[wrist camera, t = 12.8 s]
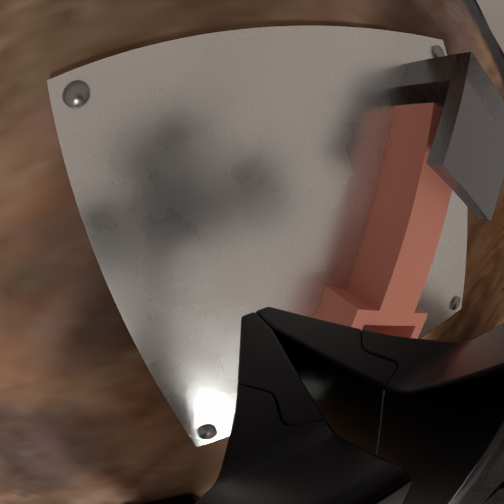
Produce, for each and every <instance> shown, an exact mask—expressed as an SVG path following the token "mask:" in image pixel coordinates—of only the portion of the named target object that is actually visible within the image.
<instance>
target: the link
mask: <svg viewBox="0 0 504 504" xmlns="http://www.w3.org/2000/svg"><path fill="white" fill-rule="evenodd" d="M442 111H443V109H441V108H440V107H439V106H438V105H436V104H435V103H420V104H408V105H397V106H395V108H394V113H393V119H392V124H391V129H390V133H389V138H388V143H387V147H386V152H385V156H384V161H383V165H382V169H381V173H380V177H379V181H378V185H377V189H376V193H375V197H374V201H373V204H372V208H371V212H370V215H369V219H368V222H367V226H366V229H365V233H364V236H363V239H362V243H361V246H360V249H359V252H358V256H357V259H356V262H355V265H354V268H353V271H352V274H351V277H350V280H349V283H348V286H347V289H343V288H335V287H327V286H326V287H325V290H324V294H323V296H322V299H321V302H320V305H319V308H318V311H317V314H316V317H315V318H316V319H320V320H324V321H328V322H332V323H337V324H341V325H345V326H349V327H354V328H358V329H361V331H362V329H363V326H364V325H377V326H376V329H375V331H374V332H377V333H382V334H387V335H393V336H400V337H407V338H416V339H418V337H419V334H420V332H421V330H422V327H423V325H424V323H425V320H426V318H427V315H428V313H426V312H424V311H423V310H421V309H419V308H418V307H417V304H418V301H419V299H420V296H421V293H422V291H423V288H424V285H425V282H426V280H427V277H428V274H429V271H430V268H431V265H432V262H433V259H434V255H435V252H436V249H437V246H438V242H439V239H440V235H441V232H442V228H443V225H444V221H445V217H446V213H447V209H448V205H449V201H450V197H451V193H452V189H451V188H450V187H449V186H448V185H447V184H446V183H445V182H444V180H443V179H442V178H441V177H440V176H439V175H438V174H437V173H436V172H435V171H434V170H433V169H432V168H431V167H430V166H429V165H428V164H427V163H426V161H427V159H428V156H429V153H430V150H431V147H432V144H433V141H434V138H435V134H436V131H437V128H438V125H439V121H440V118H441V115H442Z"/></svg>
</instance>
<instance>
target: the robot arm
mask: <svg viewBox="0 0 504 504" xmlns="http://www.w3.org/2000/svg"><path fill="white" fill-rule="evenodd" d="M150 504H504V323H503V324H501V325H499V326H497V327H496V328H494V329H492V330H490V331H488V332H486V333H485V334H483V335H481V336H479V337H477V338H474V339H471V340H468V341H463V342H446V341H435V340H426V339H416V338H407V337H400V336H393V335H387V334H382V333H377V332H372V331H367V330H362V331H361V329H358V328H354V327H349V326H345V325H341V324H337V323H332V322H328V321H324V320H320V319H316V318H312V317H308V316H304V315H300V314H296V313H292V312H288V311H284V310H280V309H276V308H273V307H265V308H263V309H260V310H258V311H256V313H255V312H252V313H250V314H247V315H244V316H242V318H241V331H240V349H239V368H238V387H237V399H236V409H235V415H234V419H233V424H232V429H231V433H230V437H229V440H228V444H227V448H226V452H225V456H224V460H223V464H222V467H221V470H220V473H219V476H218V478H217V480H216V482H215V483H214V485H213V486H212V487H211V489H210V490H209V491H208V492H206V493H205V494H204V495H203V496H202V497H201V498H200V499H199V500H198V499H197V498H196V497H195V496H194V495H185V496H181V497H177V498H173V499H169V500H164V501H160V502H155V503H150Z"/></svg>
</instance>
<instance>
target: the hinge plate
mask: <svg viewBox="0 0 504 504" xmlns="http://www.w3.org/2000/svg"><path fill="white" fill-rule="evenodd" d="M441 56H447V53H446V49H445V46H444V42H443V40H441V39H436V38H431V37H426V36H421V35H415V34H409V33H403V32H396V31H388V30H380V29H370V28H359V27H343V26H276V27H260V28H248V29H239V30H230V31H222V32H215V33H208V34H202V35H196V36H191V37H185V38H180V39H175V40H171V41H166V42H162V43H157V44H153V45H149V46H145V47H141V48H138V49H134V50H130V51H127V52H123V53H120V54H117V55H114V56H110V57H107V58H104V59H101V60H98V61H95V62H92V63H90V64H87V65H84V66H81V67H79V68H76V69H74V70H71V71H68V72H66V73H63V74H61V75H59V76H56V77H54V78H52V79H49V80H47V84H48V90H49V96H50V101H51V106H52V112H53V116H54V121H55V126H56V130H57V134H58V139H59V143H60V147H61V151H62V155H63V158H64V162H65V166H66V169H67V173H68V177H69V180H70V183H71V187H72V190H73V193H74V196H75V200H76V203H77V206H78V209H79V212H80V215H81V218H82V221H83V224H84V226H85V229H86V232H87V235H88V238H89V240H90V243H91V246H92V248H93V251H94V253H95V256H96V259H97V261H98V264H99V266H100V269H101V271H102V273H103V276H104V278H105V281H106V283H107V285H108V288H109V290H110V292H111V294H112V297H113V299H114V301H115V303H116V306H117V308H118V310H119V312H120V314H121V316H122V318H123V321H124V323H125V325H126V327H127V329H128V331H129V333H130V335H131V337H132V339H133V341H134V343H135V345H136V347H137V349H138V351H139V352H140V354H141V356H142V358H143V360H144V362H145V364H146V366H147V367H148V369H149V371H150V373H151V375H152V376H153V378H154V380H155V382H156V383H157V385H158V387H159V389H160V390H161V392H162V394H163V396H164V397H165V399H166V401H167V402H168V404H169V405H170V407H171V409H172V410H173V412H174V414H175V415H176V417H177V418H178V420H179V422H180V423H181V425H182V426H183V428H184V429H185V431H186V432H187V434H188V435H189V437H190V438H191V440H192V441H193V443H194V444H195V446H196V447H198V446H202V445H205V444H208V443H211V442H214V441H216V440H219V439H222V438H225V437H228V436H230V433H231V429H232V424H233V419H234V415H235V409H236V399H237V387H238V368H239V349H240V331H241V318H242V316H244V315H247V314H250V313H252V312H255V313H256V311H258V310H260V309H263V308H265V307H273V308H276V309H280V310H284V311H288V312H292V313H296V314H300V315H304V316H308V317H312V318H315V317H316V314H317V311H318V308H319V305H320V302H321V299H322V296H323V294H324V290H325V287H326V286H327V287H335V288H343V289H347V286H348V283H349V280H350V277H351V274H352V271H353V268H354V265H355V262H356V259H357V256H358V252H359V249H360V246H361V243H362V239H363V236H364V233H365V229H366V226H367V222H368V219H369V215H370V212H371V208H372V204H373V201H374V197H375V193H376V189H377V185H378V181H379V177H380V173H381V169H382V165H383V161H384V156H385V152H386V147H387V143H388V138H389V133H390V129H391V124H392V119H393V113H394V108H395V106H397V105H408V104H415V103H414V102H413V101H412V100H411V99H410V98H409V97H408V96H407V95H406V94H405V93H404V92H403V91H402V90H401V89H400V88H399V87H398V86H399V83H400V80H401V78H402V75H403V72H404V69H405V66H406V63H411V62H415V61H420V60H425V59H430V58H436V57H441ZM466 252H467V206H466V204H465V203H464V202H463V201H462V200H461V199H460V198H459V197H458V196H457V194H456V193H455V192H454V191H453V190H452V193H451V197H450V201H449V205H448V209H447V213H446V217H445V221H444V225H443V228H442V232H441V235H440V239H439V242H438V246H437V249H436V252H435V255H434V259H433V262H432V265H431V268H430V271H429V274H428V277H427V280H426V282H425V285H424V288H423V291H422V293H421V296H420V299H419V301H418V304H417V307H418V308H419V309H421V310H423V311H424V312H426V313H428V315H427V318H426V320H425V323H424V325H423V327H422V330H421V332H420V334H419V337H418V339H420V338H421V337H423V336H424V335H426V334H427V333H429V332H430V331H432V330H433V329H434V328H436V327H437V326H439V325H440V324H441V323H443V322H444V321H446V320H447V319H448V318H450V317H451V316H452V315H454V314H455V313H456V312H458V311H459V310H460V309H461V307H462V299H463V290H464V280H465V268H466ZM376 326H377V325H364V326H363V329H362V330H367V331H372V332H374V331H375V329H376Z"/></svg>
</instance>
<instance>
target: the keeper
mask: <svg viewBox="0 0 504 504" xmlns="http://www.w3.org/2000/svg"><path fill="white" fill-rule="evenodd" d="M398 87H399V88H400V89H401V90H402V91H403V92H404V93H405V94H406V95H407V96H408V97H409V98H410V99H411V100H412V101H413V102H414V103H415V104H420V103H435V104H436V105H438V106H439V107H440V108H441V109H443V111H442V115H441V118H440V121H439V125H438V128H437V131H436V134H435V138H434V141H433V144H432V147H431V150H430V153H429V156H428V159H427V161H426V163H427V164H428V165H429V166H430V167H431V168H432V169H433V170H434V171H435V172H436V173H437V174H438V175H439V176H440V177H441V178H442V179H443V180H444V182H445V183H446V184H447V185H448V186H449V187H450V188H451V189H452V190H453V191H454V192H455V193H456V194H457V196H458V197H459V198H460V199H461V200H462V201H463V202H464V203H465V204H466V206H467V207H468V208H469V209H470V210H471V211H472V213H473V214H474V215H475V216H476V217H477V218H478V219H482V220H485V221H488V222H491V220H492V217H493V214H494V210H495V207H496V204H497V200H498V197H499V193H500V190H501V186H502V182H503V178H504V101H503V99H502V98H501V96H500V94H499V93H498V91H497V89H496V88H495V86H494V85H493V83H492V81H491V80H490V78H489V77H488V75H487V74H486V72H485V71H484V69H483V68H482V66H481V65H480V64H479V62H478V61H477V59H476V58H475V57H474V55H473V54H472V53H471V52H467V53H460V54H454V55H447V56H441V57H436V58H430V59H425V60H420V61H415V62H411V63H406V66H405V69H404V72H403V75H402V78H401V80H400V83H399V86H398Z"/></svg>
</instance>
